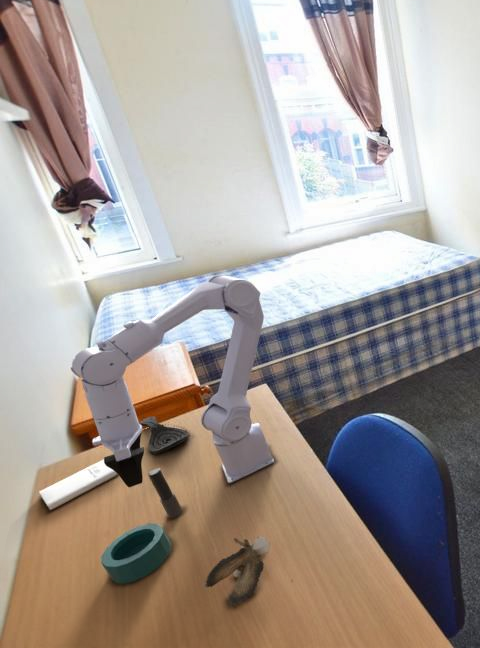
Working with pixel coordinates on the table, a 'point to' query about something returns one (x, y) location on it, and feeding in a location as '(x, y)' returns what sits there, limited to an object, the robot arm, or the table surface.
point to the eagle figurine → (241, 569)
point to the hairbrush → (163, 435)
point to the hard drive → (76, 484)
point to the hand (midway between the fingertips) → (135, 474)
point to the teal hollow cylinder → (136, 553)
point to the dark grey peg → (165, 493)
